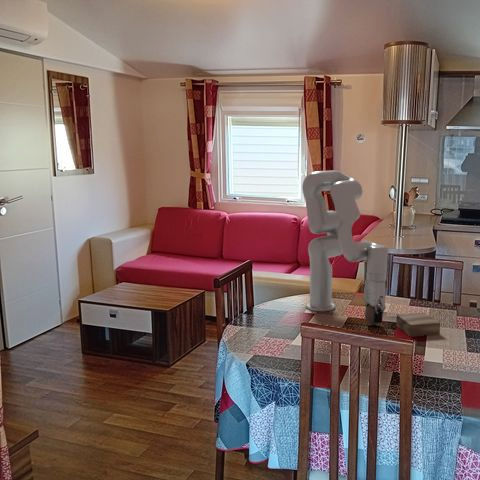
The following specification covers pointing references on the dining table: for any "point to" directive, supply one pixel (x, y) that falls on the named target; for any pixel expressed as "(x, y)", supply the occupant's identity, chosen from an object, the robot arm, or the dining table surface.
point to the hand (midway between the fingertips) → (373, 318)
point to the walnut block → (418, 324)
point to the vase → (370, 314)
